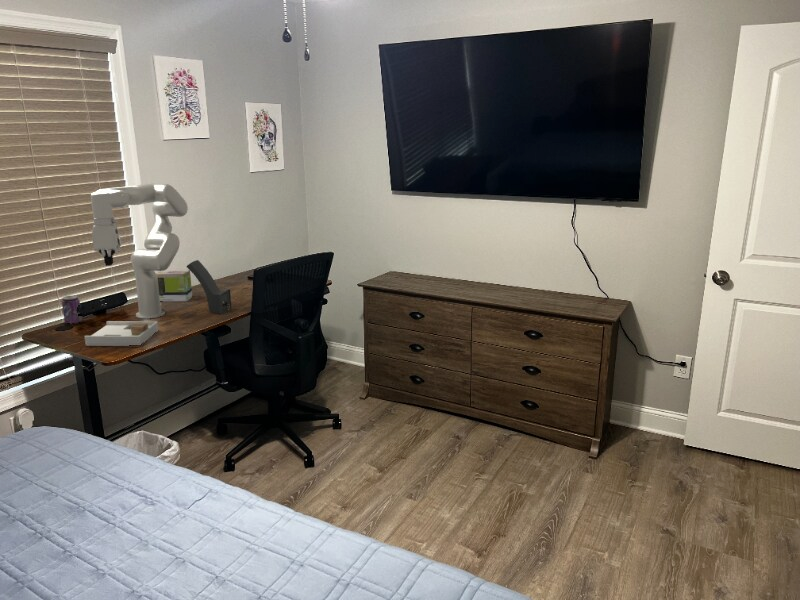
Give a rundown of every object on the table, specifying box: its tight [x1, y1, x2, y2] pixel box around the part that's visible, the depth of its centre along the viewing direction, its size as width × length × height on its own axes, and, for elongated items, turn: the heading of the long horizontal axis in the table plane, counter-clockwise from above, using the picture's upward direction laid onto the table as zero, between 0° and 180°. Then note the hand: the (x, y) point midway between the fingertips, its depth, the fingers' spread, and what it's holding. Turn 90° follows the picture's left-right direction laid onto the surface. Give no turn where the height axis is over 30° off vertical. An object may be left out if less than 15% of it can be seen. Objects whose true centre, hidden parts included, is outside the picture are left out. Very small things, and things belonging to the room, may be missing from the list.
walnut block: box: [131, 323, 148, 335], centre depth 253 cm, size 5×5×4 cm
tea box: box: [155, 269, 193, 302], centre depth 310 cm, size 15×10×15 cm
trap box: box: [84, 320, 160, 347], centre depth 254 cm, size 20×22×4 cm
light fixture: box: [186, 259, 232, 315], centre depth 290 cm, size 11×17×24 cm, turn 81°
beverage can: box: [61, 294, 83, 325], centre depth 272 cm, size 7×7×12 cm
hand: (109, 265), depth 256 cm, fingers closed
